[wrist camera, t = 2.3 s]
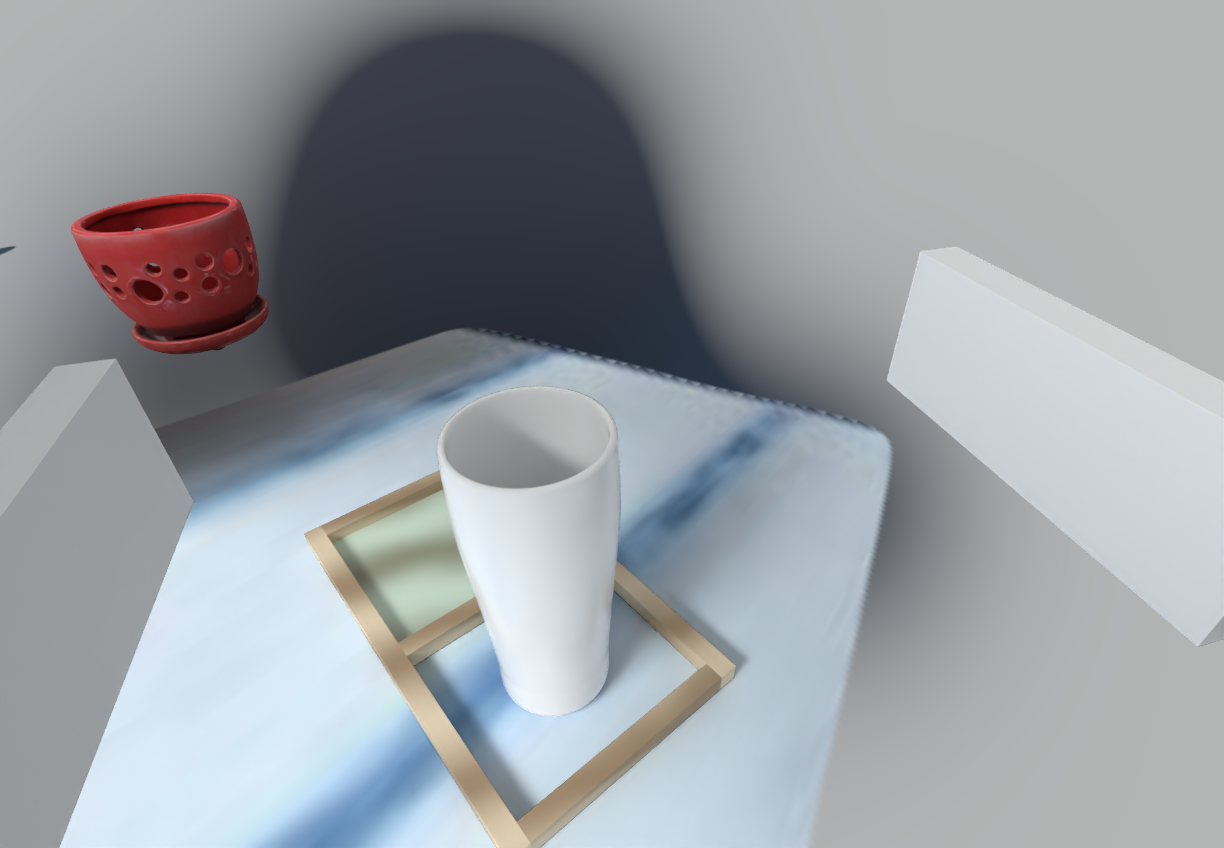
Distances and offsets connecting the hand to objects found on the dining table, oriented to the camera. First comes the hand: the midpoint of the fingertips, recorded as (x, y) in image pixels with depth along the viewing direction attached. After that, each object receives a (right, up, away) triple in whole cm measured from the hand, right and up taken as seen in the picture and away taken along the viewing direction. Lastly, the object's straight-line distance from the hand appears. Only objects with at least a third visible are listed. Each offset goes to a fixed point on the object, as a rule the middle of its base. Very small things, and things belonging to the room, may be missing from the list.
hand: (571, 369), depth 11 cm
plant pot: (-39, +8, +52) cm, 66 cm away
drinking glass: (-2, -14, +21) cm, 26 cm away
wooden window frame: (-6, -11, +25) cm, 28 cm away
